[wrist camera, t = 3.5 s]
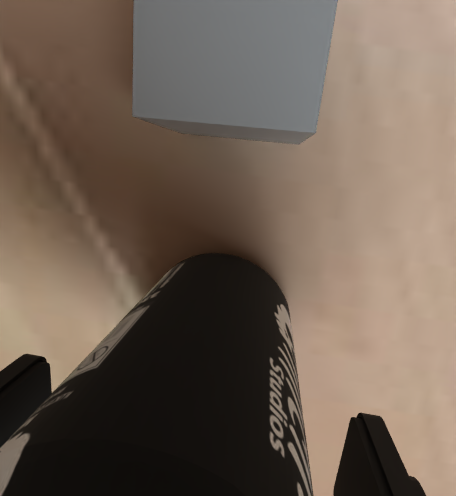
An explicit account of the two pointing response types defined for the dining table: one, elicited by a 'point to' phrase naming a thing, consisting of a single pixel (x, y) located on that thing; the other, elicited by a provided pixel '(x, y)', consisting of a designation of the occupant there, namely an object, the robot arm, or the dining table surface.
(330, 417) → the dining table surface
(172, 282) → the beverage can
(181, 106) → the gray block
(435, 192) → the dining table surface
